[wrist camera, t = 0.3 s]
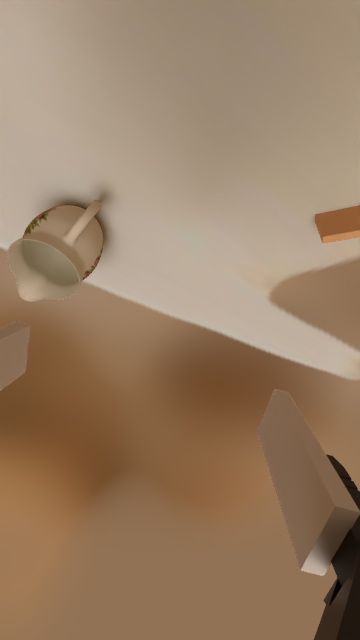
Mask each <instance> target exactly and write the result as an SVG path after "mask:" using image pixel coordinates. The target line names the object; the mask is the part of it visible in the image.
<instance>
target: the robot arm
mask: <svg viewBox="0 0 360 640" xmlns="http://www.w3.org/2000/svg"><path fill="white" fill-rule="evenodd" d="M29 332H30V325H28V324H24V323H20V322H14V323H11V324H9V325H7V326H5V327H2V328H0V390H2V389H3V388H4V387H6V386H7V385H8V384H10V383H11V382H12V381H14V380H15V379H16V378H18V377H19V376H21V375H22V374H23V373H24V372H25V371H26V362H27V352H28V341H29ZM258 435H259V439H260V441H261V445H262V448H263V451H264V455H265V458H266V460H267V464H268V467H269V471H270V474H271V477H272V480H273V483H274V487H275V490H276V493H277V496H278V500H279V503H280V506H281V509H282V512H283V516H284V519H285V522H286V525H287V529H288V532H289V535H290V538H291V541H292V545H293V548H294V551H295V554H296V558H297V561H298V564H299V567H300V570H301V571H305V572H309V573H313V574H317V575H321V576H324V575H325V573H326V571H327V570H328V568H329V566H330V565H331V563H332V565H333V567H334V570H335V572H336V575H337V579H336V581H335V582H334V584H333V586H332V588H331V589H330V591H329V592H328V594H327V596H326V598H325V599H324V602H325V603H326V607H325V610H324V612H323V615H322V618H321V621H320V624H319V627H318V630H317V632H316V635H315V638H314V640H360V491H358V490H357V487H356V485H355V484H354V482H353V481H351V477H350V476H349V474H348V473H347V471H346V470H345V468H344V467H343V466H342V465H341V464H340V463H339V462H338V461H337V460H336V459H335V458H334V457H333V456H330V455H326V454H325V452H324V450H323V449H322V447H321V445H320V444H319V442H318V441H317V439H316V437H315V436H314V434H313V432H312V431H311V429H310V427H309V425H308V424H307V422H306V420H305V419H304V417H303V415H302V414H301V412H300V410H299V409H298V407H297V405H296V404H295V402H294V400H293V399H292V397H291V395H290V394H289V393H288V392H285V391H281V390H277V389H274V391H273V394H272V396H271V399H270V401H269V404H268V406H267V409H266V411H265V414H264V416H263V419H262V421H261V424H260V426H259V429H258Z"/></svg>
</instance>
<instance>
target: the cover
mask: <svg viewBox="0 0 360 640" xmlns="http://www.w3.org/2000/svg"><path fill="white" fill-rule="evenodd" d="M315 222H316V225H317V228H318V231H319V234H320V237H321V241H322V243H328V242H334V241H340V240H346V239H351V238H357V237H360V206H356V207H351V208H346V209H342V210H337V211H332V212H327V213H322V214H317V215H315Z"/></svg>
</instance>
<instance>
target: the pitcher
mask: <svg viewBox="0 0 360 640" xmlns="http://www.w3.org/2000/svg"><path fill="white" fill-rule="evenodd" d="M100 208H101V203H100V202H99V201H97V200H94V201H93V202H92V203H91V204H90V205H89V206H88V208H87V209H86V210H85V209H83V208H80V207H78V206H73V205H63V206H57V207H54V208H51V209H48V210H46V211H45V212H43V213H41V214H40V215H38V216H37V217H36V218H35V219H34V220H33V221H32V222H31V223H30V224H29V225H28V227H27V228H26V230H25V233H24V235H23V238H21V239H19V240H17V241H15V242H14V243H13V244H11V246H10V247H9V249H8V252H7V260H8V265H9V267H10V269H11V271H12V273H13V275H14V277H15V279H16V282H17V292H18V294H19V296H20V297H21V298H22V299H24V300H25V301H28V302H35V301H39V300H42V299H56V300H57V299H66V298H69V297H72V296H73V295H75V294H76V293H77V292H78V290H79V288H80V285H81V282H82V280H84V279H85V278H86V277H88V276H89V275H90V274H91V273H92V271H93V270H94V269H95V267H96V266H97V264H98V262H99V260H100V257H101V253H102V249H103V234H102V230H101V227H100V225H99V223H98V221H97V219H96V218H95V217H94V216H95V214H96V213H97V212H98V211H99V209H100Z"/></svg>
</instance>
